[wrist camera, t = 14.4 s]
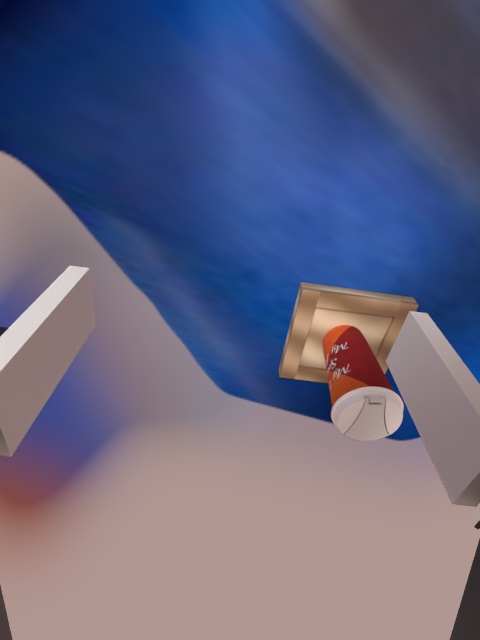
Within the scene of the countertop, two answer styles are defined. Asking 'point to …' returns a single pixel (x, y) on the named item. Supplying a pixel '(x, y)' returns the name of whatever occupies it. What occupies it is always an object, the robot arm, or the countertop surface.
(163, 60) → the countertop surface
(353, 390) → the coffee cup
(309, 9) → the countertop surface
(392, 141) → the countertop surface
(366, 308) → the square tray
